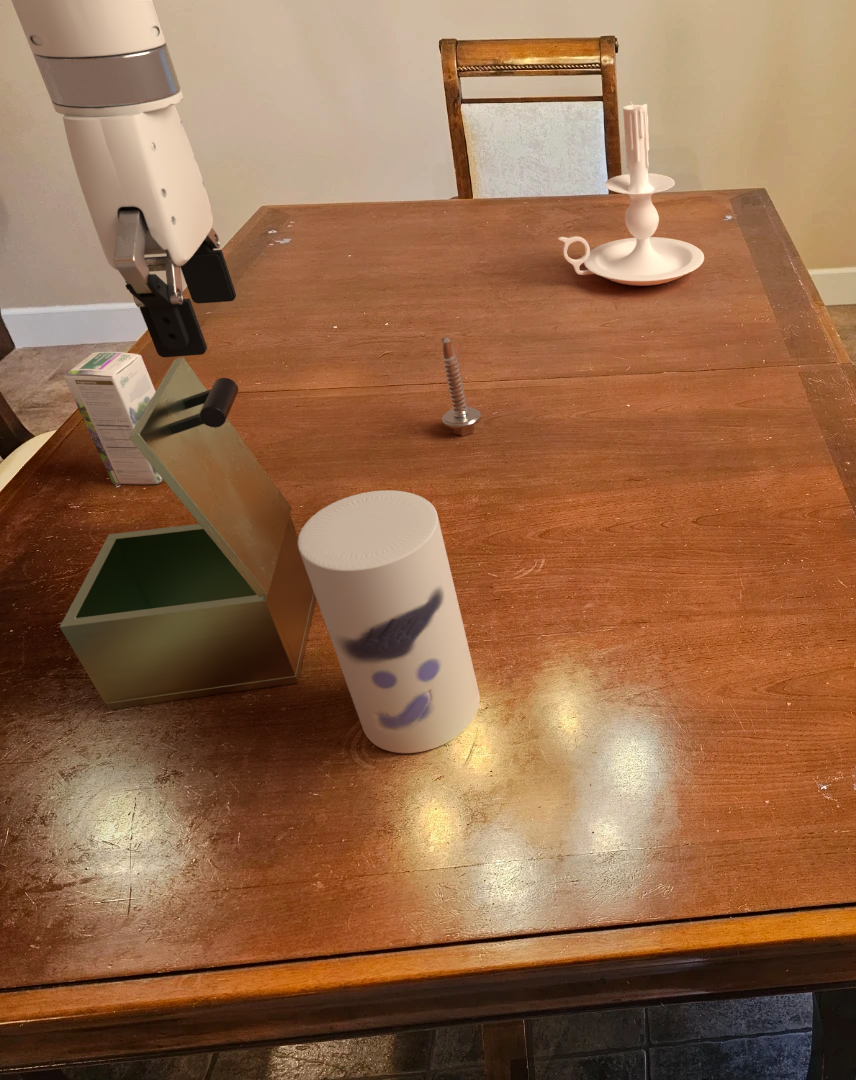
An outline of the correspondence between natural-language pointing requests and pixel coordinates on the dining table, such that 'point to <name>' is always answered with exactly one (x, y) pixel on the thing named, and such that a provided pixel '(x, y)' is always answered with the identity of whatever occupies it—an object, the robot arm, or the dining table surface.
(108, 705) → the bin
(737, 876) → the dining table surface
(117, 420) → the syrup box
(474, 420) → the screw
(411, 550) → the container
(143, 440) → the lid
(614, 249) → the candlestick
